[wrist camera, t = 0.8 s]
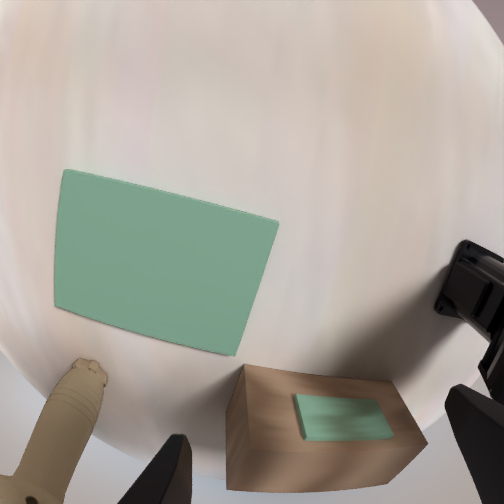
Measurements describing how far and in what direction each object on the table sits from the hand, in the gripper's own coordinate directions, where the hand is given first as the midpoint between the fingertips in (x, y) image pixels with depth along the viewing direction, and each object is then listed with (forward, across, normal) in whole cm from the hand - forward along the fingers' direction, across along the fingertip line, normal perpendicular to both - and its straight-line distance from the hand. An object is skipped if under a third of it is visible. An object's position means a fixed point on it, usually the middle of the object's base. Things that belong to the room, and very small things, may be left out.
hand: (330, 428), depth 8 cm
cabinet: (+12, -2, +12) cm, 18 cm away
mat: (+12, +8, -1) cm, 15 cm away
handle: (+12, +16, +7) cm, 22 cm away
